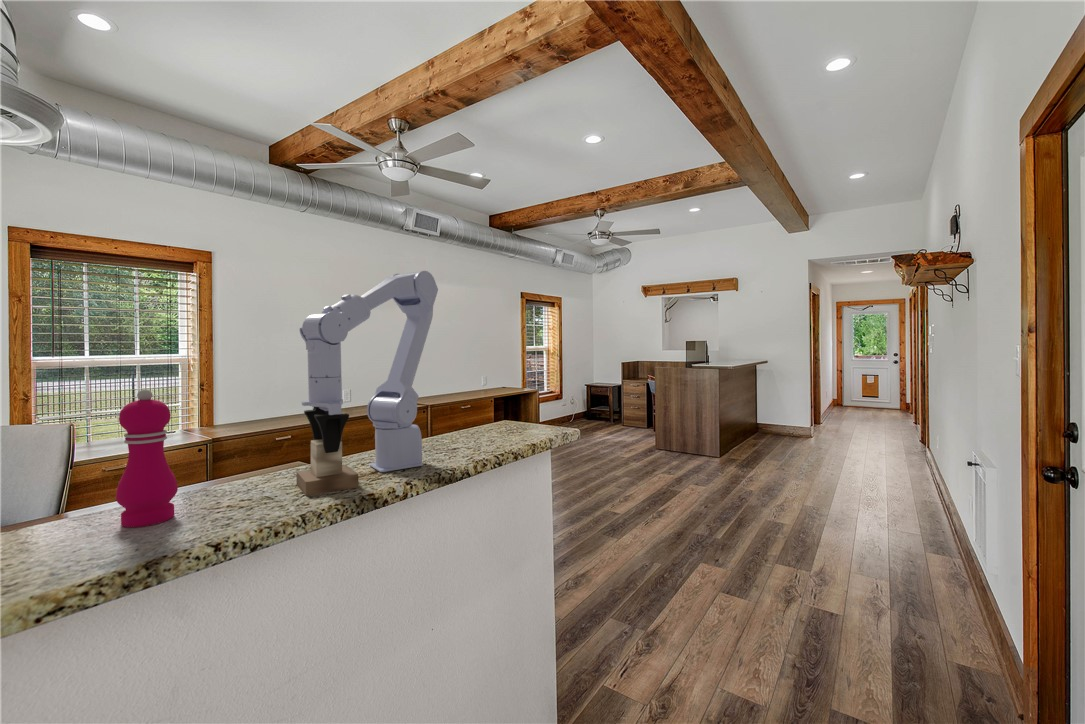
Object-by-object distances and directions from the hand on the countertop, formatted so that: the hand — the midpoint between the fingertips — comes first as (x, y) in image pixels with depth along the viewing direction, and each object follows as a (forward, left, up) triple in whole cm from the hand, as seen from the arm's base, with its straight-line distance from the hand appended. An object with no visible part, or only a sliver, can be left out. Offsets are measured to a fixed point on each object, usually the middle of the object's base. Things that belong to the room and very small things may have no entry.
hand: (326, 448), depth 90 cm
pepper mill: (+26, +3, -7) cm, 27 cm away
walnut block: (0, 0, -8) cm, 8 cm away
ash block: (0, 0, -5) cm, 5 cm away
